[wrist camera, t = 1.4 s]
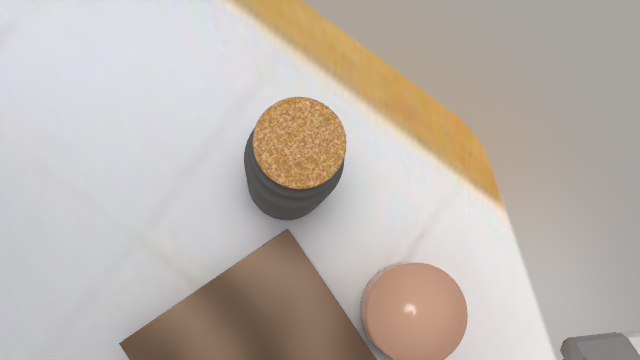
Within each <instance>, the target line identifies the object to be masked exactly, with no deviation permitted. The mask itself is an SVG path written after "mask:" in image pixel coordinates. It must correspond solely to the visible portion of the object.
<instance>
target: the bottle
mask: <svg viewBox="0 0 640 360" xmlns="http://www.w3.org/2000/svg"><path fill="white" fill-rule="evenodd" d="M345 152H346V135H345V131H344V128H343V126H342V123H341V121H340V120H339V118H338V117H337V115H336V114H335V113H334V112H333V111H332V110H331V109H330V108H329V107H327V106H326V105H324V104H323V103H321V102H319V101H316V100H314V99H310V98H305V97H293V98H287V99H284V100H281V101H279V102H277V103H275V104H274V105H272V106H271V107H269V108H268V109H267V110H266V111H265V112H264V113H263V114H262V116H261V117H260V119H259V120H258V122H257V124H256V127H255V128H254V130H253V131H252V133H251V134H250V137H249V139H248V141H247V144H246V148H245V153H244V164H245V172H246V177H247V183H248V188H249V192H250V194H251V197H252V199H253V201H254V202H255V203H256V205H257V206H258V207H259V208H260V209H261V210H262V211H263V212H264V213H266V214H268V215H270V216H272V217H274V218H278V219H284V220H290V219H296V218H300V217H302V216H304V215H306V214H308V213H310V212H311V211H312V210H313V209H315V208H316V207H317V206H318V205H319V204H320V203H321V202H322V201H323V200H324V199H325V198H326V197H327V196H328V195H329V194H330V193H331V192H332V191H333V189H334V188H335V187H336V185H337V184H338V182H339V179H340V177H341V174H342V171H343V166H344V157H345Z"/></svg>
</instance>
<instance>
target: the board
mask: <svg viewBox="0 0 640 360" xmlns="http://www.w3.org/2000/svg"><path fill="white" fill-rule="evenodd" d="M119 344H120V345H121V347H122V348H123V350H124V351H125V353H126V355H127V356H128V358H129V359H130V360H377V359H376V358H375V356H374V355H373V354H372V352H371V351H370V349H369V348H368V346H367V345H366V343H365V342H364V340H363V339H362V337H361V336H360V334H359V333H358V331H357V330H356V328H355V327H354V325H353V324H352V323H351V321H350V320H349V318H348V317H347V315H346V314H345V312H344V311H343V309H342V308H341V306H340V305H339V303H338V302H337V300H336V299H335V297H334V296H333V294H332V293H331V292H330V290H329V289H328V287H327V286H326V284H325V283H324V281H323V280H322V278H321V277H320V275H319V274H318V272H317V271H316V269H315V268H314V266H313V265H312V263H311V262H310V261H309V259H308V258H307V256H306V255H305V253H304V252H303V250H302V249H301V247H300V246H299V244H298V243H297V241H296V240H295V238H294V237H293V235H292V234H291V232H290V231H289V230H288V229H287V230H285V231H284V232H282V233H281V234H279V235H278V236H276V237H275V238H273V239H272V240H270V241H269V242H268V243H266V244H265V245H263V246H262V247H260V248H259V249H257V250H256V251H254V252H253V253H251V254H250V255H248V256H247V257H245V258H244V259H243V260H241V261H240V262H238V263H237V264H235V265H234V266H232V267H231V268H229V269H228V270H226V271H225V272H223V273H222V274H221V275H219V276H218V277H216V278H215V279H213V280H212V281H210V282H209V283H207V284H206V285H204V286H203V287H201V288H200V289H198V290H197V291H196V292H194V293H193V294H191V295H190V296H188V297H187V298H185V299H184V300H182V301H181V302H179V303H178V304H176V305H175V306H174V307H172V308H171V309H169V310H168V311H166V312H165V313H163V314H162V315H160V316H159V317H157V318H156V319H154V320H153V321H151V322H150V323H149V324H147V325H146V326H144V327H143V328H141V329H140V330H138V331H137V332H135V333H134V334H132V335H131V336H129V337H128V338H127V339H125V340H124V341H122V342H121V343H119Z"/></svg>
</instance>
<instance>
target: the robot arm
mask: <svg viewBox="0 0 640 360" xmlns="http://www.w3.org/2000/svg"><path fill="white" fill-rule="evenodd" d="M560 351H561V353H562V355H563V357H564V359H563V360H640V331H632V332H622V333H616V332H614V333H606V334H597V335H589V336H579V337H570V338H567V339H566V340H565V341H563V343H562V346H561V350H560Z"/></svg>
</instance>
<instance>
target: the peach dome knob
mask: <svg viewBox="0 0 640 360" xmlns="http://www.w3.org/2000/svg"><path fill="white" fill-rule="evenodd" d="M360 316H361V321H362V325H363V328H364V330H365V332H366V334H367V336H368V338H369V339H370V340H371V341H372V343H373V344H374V345H375V346H376V347H377V348H379V349H380V350H381V351H383V352H384V353H385V354H387V355H388V356H389V357H391V358H392V359H394V360H443V359H445V358H446V357H448V356H449V355H450V354H451V353H452V352H453V351H454V350H455V349H456V348H457V346H458V345H459V343H460V342H461V340H462V338H463V336H464V333H465V330H466V325H467V306H466V302H465V298H464V296H463V293H462V291H461V289H460V288H459V286H458V284H457V283H456V282H455V281H454V279H453V278H451V277H450V276H449V275H448V274H447V273H446V272H444V271H443V270H441V269H439V268H437V267H435V266H432V265H428V264H423V263H398V264H394V265H390V266H388V267H386V268H384V269H382V270H381V271H379V272H378V273H377V274H375V275H374V276H373V278H372V279H371V280H370V281H369V283H368V284H367V286H366V288H365V290H364V292H363V295H362V299H361V305H360Z"/></svg>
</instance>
